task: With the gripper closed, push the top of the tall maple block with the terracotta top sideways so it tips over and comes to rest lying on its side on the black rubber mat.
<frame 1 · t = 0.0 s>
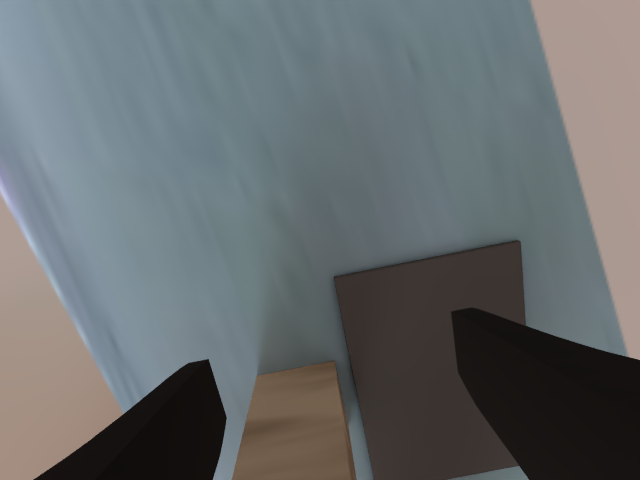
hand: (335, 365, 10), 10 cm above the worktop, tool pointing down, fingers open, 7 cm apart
maple block: (303, 401, 22), on the worktop
rubber mat: (440, 375, 22), on the worktop
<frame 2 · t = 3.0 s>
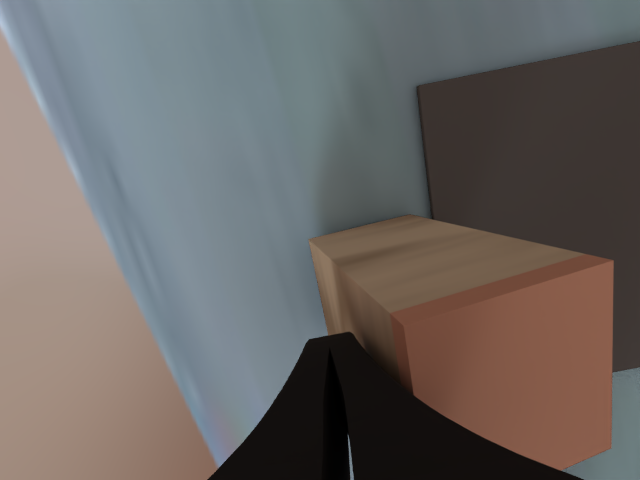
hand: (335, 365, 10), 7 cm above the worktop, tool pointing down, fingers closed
maple block: (369, 276, 16), on the worktop, tilted 12°
rubber mat: (547, 238, 16), on the worktop
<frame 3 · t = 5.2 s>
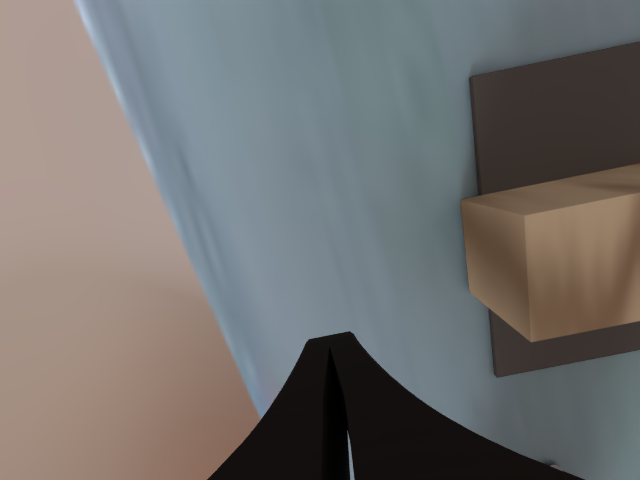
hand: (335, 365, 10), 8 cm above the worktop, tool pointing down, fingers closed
maple block: (491, 261, 15), point 3 cm above the worktop, tilted 90°, touching rubber mat
rubber mat: (587, 220, 17), on the worktop
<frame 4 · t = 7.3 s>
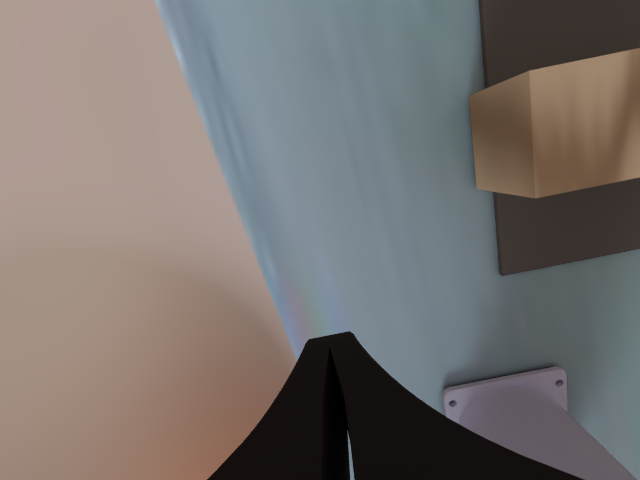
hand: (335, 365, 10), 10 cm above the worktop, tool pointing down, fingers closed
maple block: (498, 141, 16), point 3 cm above the worktop, tilted 90°, touching rubber mat
rubber mat: (587, 120, 18), on the worktop
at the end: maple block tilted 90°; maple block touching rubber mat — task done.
